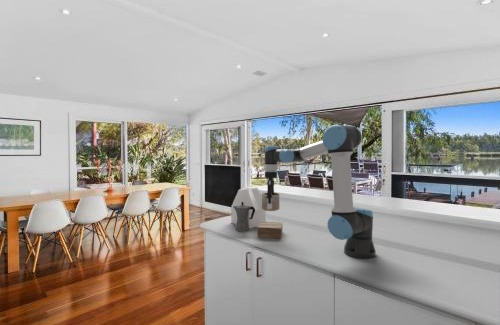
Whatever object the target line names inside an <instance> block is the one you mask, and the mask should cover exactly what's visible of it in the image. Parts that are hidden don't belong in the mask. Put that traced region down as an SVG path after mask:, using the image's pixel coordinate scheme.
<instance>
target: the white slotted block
mask: <svg viewBox="0 0 500 325" xmlns="http://www.w3.org/2000/svg"><path fill="white" fill-rule="evenodd" d="M241 202H244V203H243V205H246V206H252V207H254V208H255V213H254V215H253V218H252V219H249V218H251V214H252V211H253V210H252V209H250V210H249V212H248V217H247V219H248V226H249V229H252V228H258V226H259V224H260V222H267V221H266V216H267V214H266V212H267V211H266V210H263V209H262V194H261V193H260V190H259V188H258V187H255V186H254V187H249V188H240V189H238V190H237V193H236V195H235V197H234V199H233V202H232V204H231V207H230V211H231V212H230V217H231V218H230V219H231V221H230V223H231V224H233V225H234V224H235V225H236V224H237V214H236V210H235V209H234V207H233V206H239V205H242V204H241Z"/></svg>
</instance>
